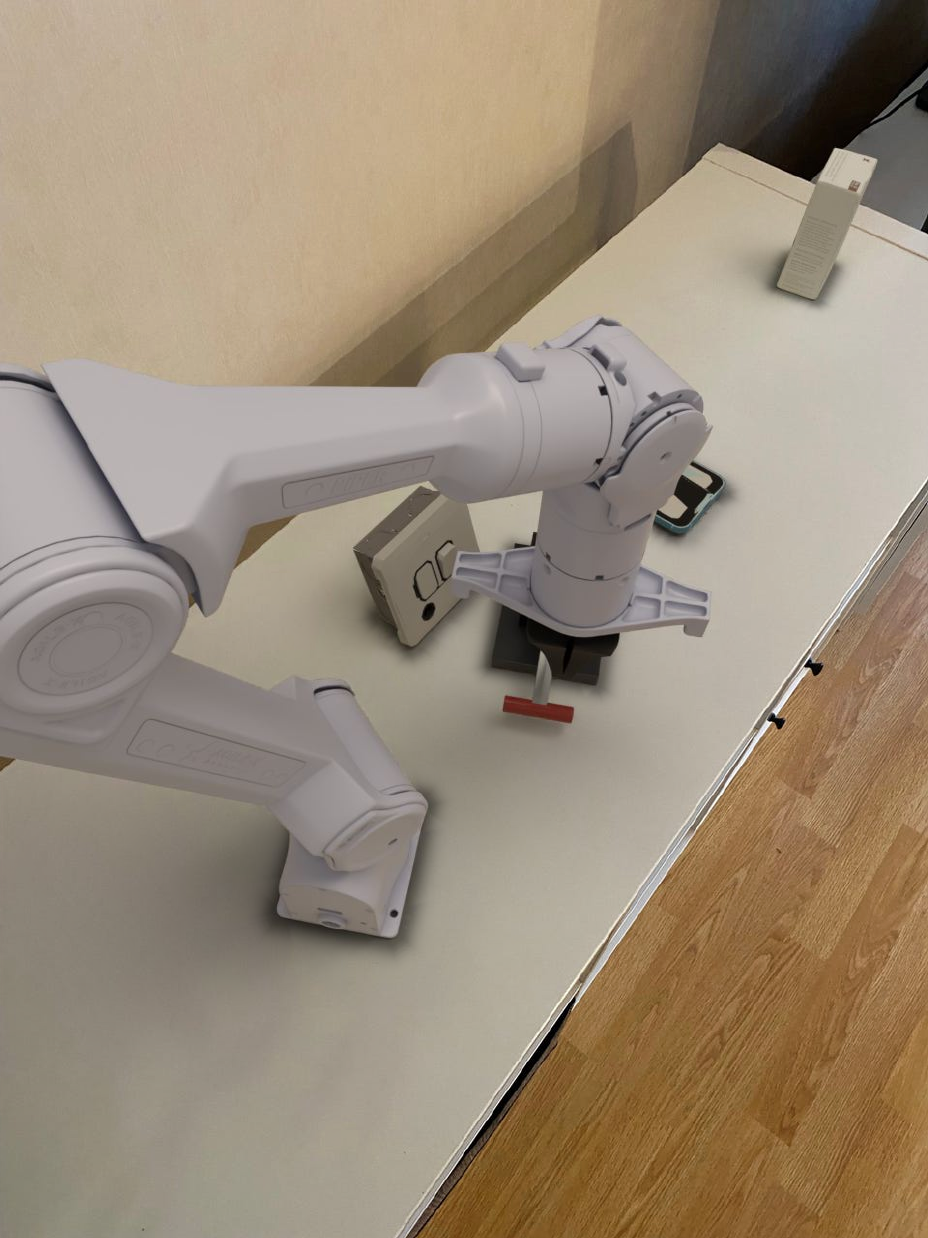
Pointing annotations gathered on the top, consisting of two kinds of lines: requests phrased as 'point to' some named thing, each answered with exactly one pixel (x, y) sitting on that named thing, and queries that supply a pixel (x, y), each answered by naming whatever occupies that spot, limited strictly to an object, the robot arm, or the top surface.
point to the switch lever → (539, 699)
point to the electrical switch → (416, 561)
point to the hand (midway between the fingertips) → (563, 665)
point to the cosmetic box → (826, 222)
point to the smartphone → (690, 498)
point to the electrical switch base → (527, 644)
